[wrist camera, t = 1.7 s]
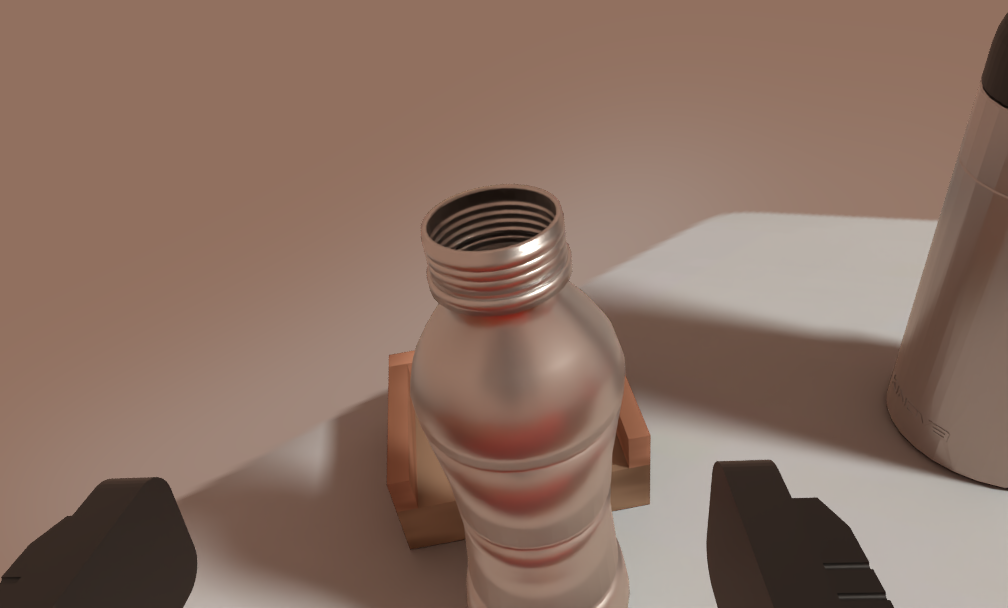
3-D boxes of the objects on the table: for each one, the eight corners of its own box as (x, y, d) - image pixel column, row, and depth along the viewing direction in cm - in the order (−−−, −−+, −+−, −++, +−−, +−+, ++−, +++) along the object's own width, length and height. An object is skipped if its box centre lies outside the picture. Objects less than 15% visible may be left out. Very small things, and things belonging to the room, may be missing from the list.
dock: (604, 381, 40) (601, 316, 37) (649, 504, 33) (650, 435, 30) (408, 417, 40) (389, 355, 37) (410, 549, 32) (386, 484, 29)
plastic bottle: (455, 592, 30) (334, 206, 18) (584, 529, 32) (549, 140, 20) (513, 733, 25) (401, 329, 14) (662, 649, 27) (677, 228, 15)
